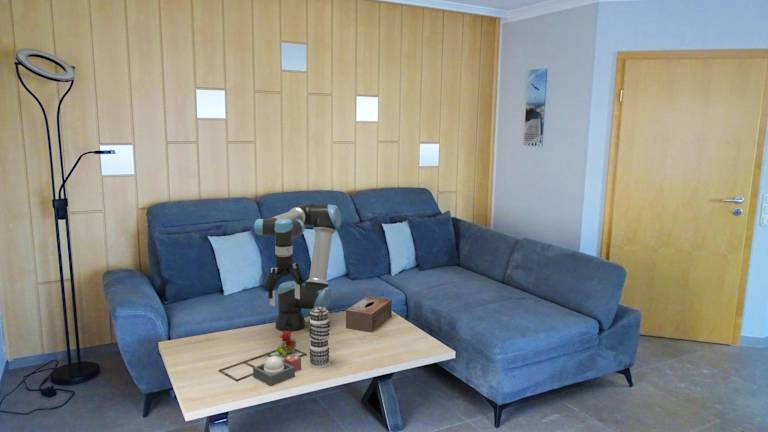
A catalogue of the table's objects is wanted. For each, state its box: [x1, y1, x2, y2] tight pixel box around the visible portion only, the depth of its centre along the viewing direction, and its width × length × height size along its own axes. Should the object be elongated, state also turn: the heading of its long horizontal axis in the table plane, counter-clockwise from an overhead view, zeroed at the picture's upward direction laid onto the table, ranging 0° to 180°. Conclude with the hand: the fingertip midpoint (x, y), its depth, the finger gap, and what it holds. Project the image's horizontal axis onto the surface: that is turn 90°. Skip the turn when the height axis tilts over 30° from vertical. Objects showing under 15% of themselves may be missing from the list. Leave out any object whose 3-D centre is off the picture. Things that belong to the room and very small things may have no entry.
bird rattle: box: [275, 331, 297, 357], centre depth 247 cm, size 6×11×9 cm
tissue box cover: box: [345, 295, 393, 333], centre depth 289 cm, size 26×14×10 cm, turn 157°
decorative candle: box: [307, 306, 331, 369], centre depth 237 cm, size 9×9×25 cm
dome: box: [264, 356, 284, 375], centre depth 226 cm, size 8×8×8 cm
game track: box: [218, 348, 308, 382], centre depth 239 cm, size 14×36×1 cm, turn 137°
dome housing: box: [252, 355, 302, 387], centre depth 228 cm, size 12×18×6 cm, turn 137°
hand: (285, 301), depth 244 cm, fingers open, 13 cm apart
